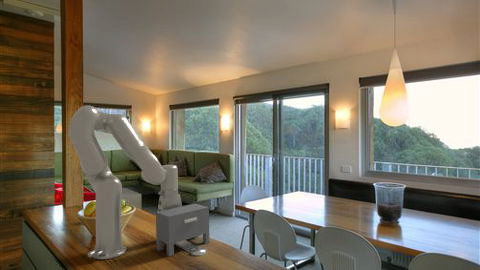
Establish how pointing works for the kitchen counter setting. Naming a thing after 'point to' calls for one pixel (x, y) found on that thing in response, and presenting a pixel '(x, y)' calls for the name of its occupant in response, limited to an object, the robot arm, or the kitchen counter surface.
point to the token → (198, 251)
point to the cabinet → (181, 225)
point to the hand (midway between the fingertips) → (170, 232)
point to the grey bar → (185, 245)
